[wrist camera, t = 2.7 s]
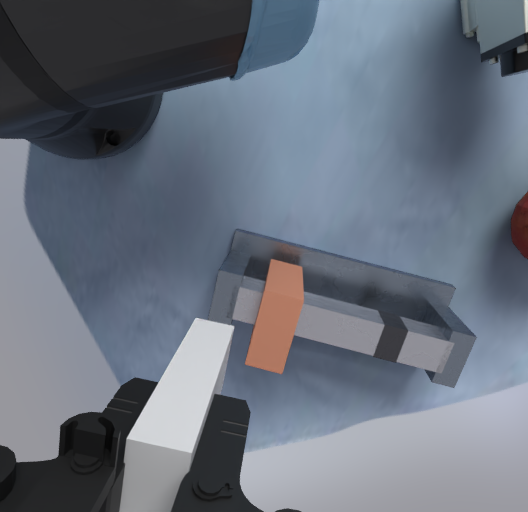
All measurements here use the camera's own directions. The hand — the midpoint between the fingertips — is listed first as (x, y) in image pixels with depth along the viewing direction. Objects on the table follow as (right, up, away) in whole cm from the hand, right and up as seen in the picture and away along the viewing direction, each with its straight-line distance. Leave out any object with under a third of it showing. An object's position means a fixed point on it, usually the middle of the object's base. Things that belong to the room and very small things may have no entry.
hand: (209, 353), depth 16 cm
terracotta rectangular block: (+3, 0, +23) cm, 23 cm away
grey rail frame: (+9, 0, +26) cm, 27 cm away
